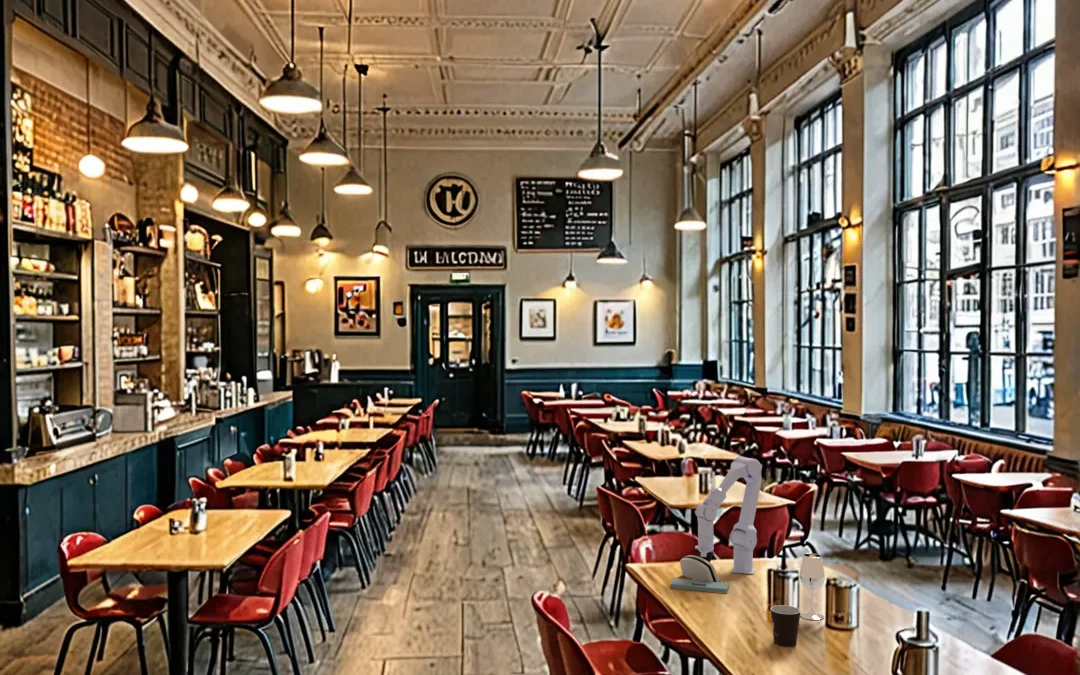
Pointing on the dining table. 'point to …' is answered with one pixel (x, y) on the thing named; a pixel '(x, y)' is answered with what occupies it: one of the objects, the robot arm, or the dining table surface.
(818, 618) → the wineglass
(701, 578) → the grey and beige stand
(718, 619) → the dining table surface
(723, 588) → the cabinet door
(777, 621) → the coffee mug
